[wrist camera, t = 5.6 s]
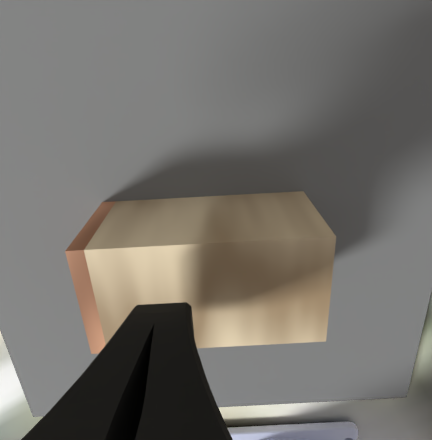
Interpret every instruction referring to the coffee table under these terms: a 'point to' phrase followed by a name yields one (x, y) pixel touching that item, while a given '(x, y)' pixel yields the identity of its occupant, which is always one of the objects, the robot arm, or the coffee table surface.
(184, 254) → the maple block
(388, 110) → the mat
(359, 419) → the coffee table surface
